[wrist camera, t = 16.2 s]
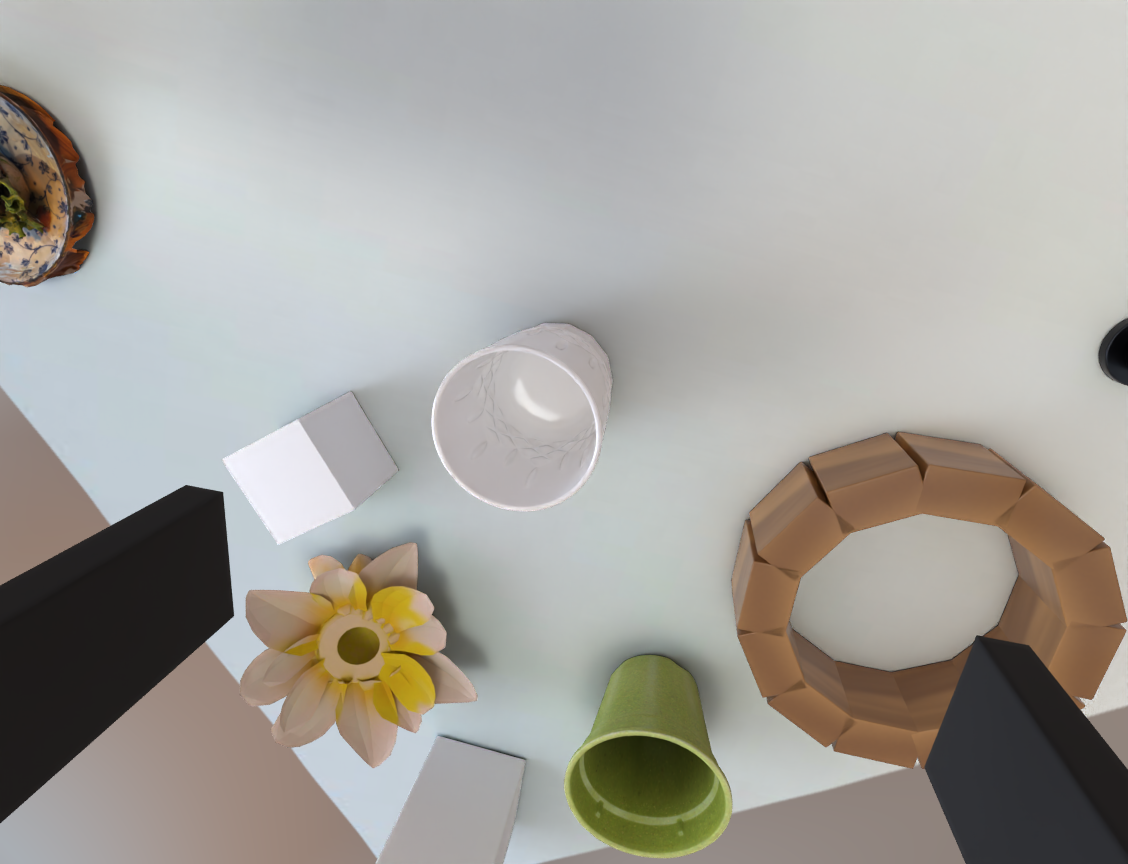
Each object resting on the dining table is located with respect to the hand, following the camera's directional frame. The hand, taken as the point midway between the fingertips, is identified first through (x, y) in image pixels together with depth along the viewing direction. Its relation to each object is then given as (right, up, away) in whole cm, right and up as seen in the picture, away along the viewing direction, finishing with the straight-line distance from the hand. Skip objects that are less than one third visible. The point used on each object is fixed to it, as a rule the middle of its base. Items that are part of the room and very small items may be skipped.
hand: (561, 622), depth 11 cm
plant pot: (+6, -14, +33) cm, 36 cm away
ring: (+20, -5, +27) cm, 34 cm away
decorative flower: (-12, -10, +35) cm, 38 cm away
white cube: (-15, +2, +31) cm, 34 cm away
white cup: (0, +7, +27) cm, 28 cm away
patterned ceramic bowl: (-35, +19, +29) cm, 49 cm away
